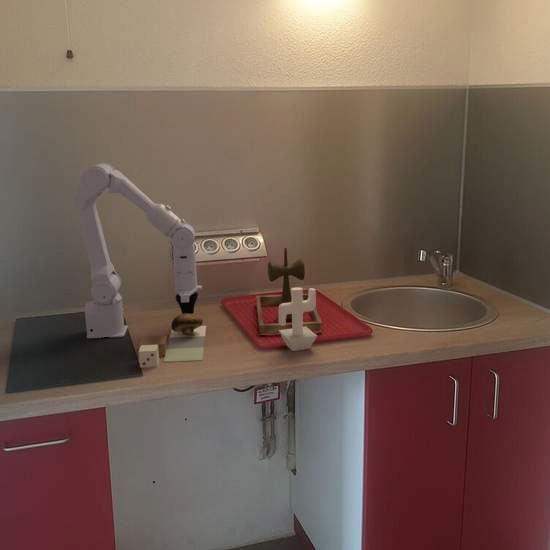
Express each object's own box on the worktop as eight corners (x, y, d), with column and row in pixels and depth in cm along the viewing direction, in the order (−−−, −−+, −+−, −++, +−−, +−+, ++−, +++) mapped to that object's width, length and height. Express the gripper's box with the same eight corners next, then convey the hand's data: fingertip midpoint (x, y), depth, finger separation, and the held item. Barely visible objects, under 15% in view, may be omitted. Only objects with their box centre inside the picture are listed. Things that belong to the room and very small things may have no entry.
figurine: (274, 344, 170) (273, 286, 166) (310, 339, 173) (309, 282, 169) (284, 355, 163) (283, 294, 159) (321, 349, 166) (321, 289, 162)
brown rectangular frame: (259, 335, 176) (259, 325, 176) (256, 305, 201) (256, 296, 201) (321, 333, 177) (321, 322, 176) (310, 302, 202) (310, 293, 201)
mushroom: (195, 330, 171) (189, 306, 173) (168, 341, 174) (163, 317, 175) (210, 333, 178) (204, 311, 180) (184, 344, 181) (179, 321, 183)
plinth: (140, 356, 164) (139, 345, 163) (143, 347, 170) (142, 336, 169) (165, 355, 165) (164, 344, 164) (167, 346, 170) (166, 335, 170)
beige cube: (142, 361, 162) (139, 368, 158) (140, 345, 161) (138, 351, 157) (159, 360, 162) (157, 367, 158) (157, 344, 161) (156, 350, 157)
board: (163, 362, 161) (163, 361, 161) (172, 327, 184) (172, 327, 184) (202, 360, 161) (202, 359, 161) (206, 326, 184) (206, 325, 184)
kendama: (306, 320, 187) (305, 248, 182) (271, 323, 186) (269, 251, 180) (301, 313, 193) (300, 244, 188) (268, 316, 191) (266, 246, 186)
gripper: (199, 277, 171) (202, 329, 174) (202, 263, 185) (204, 311, 188) (171, 278, 171) (174, 330, 174) (175, 264, 184) (178, 312, 188)
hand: (188, 320), depth 181 cm, fingers closed
